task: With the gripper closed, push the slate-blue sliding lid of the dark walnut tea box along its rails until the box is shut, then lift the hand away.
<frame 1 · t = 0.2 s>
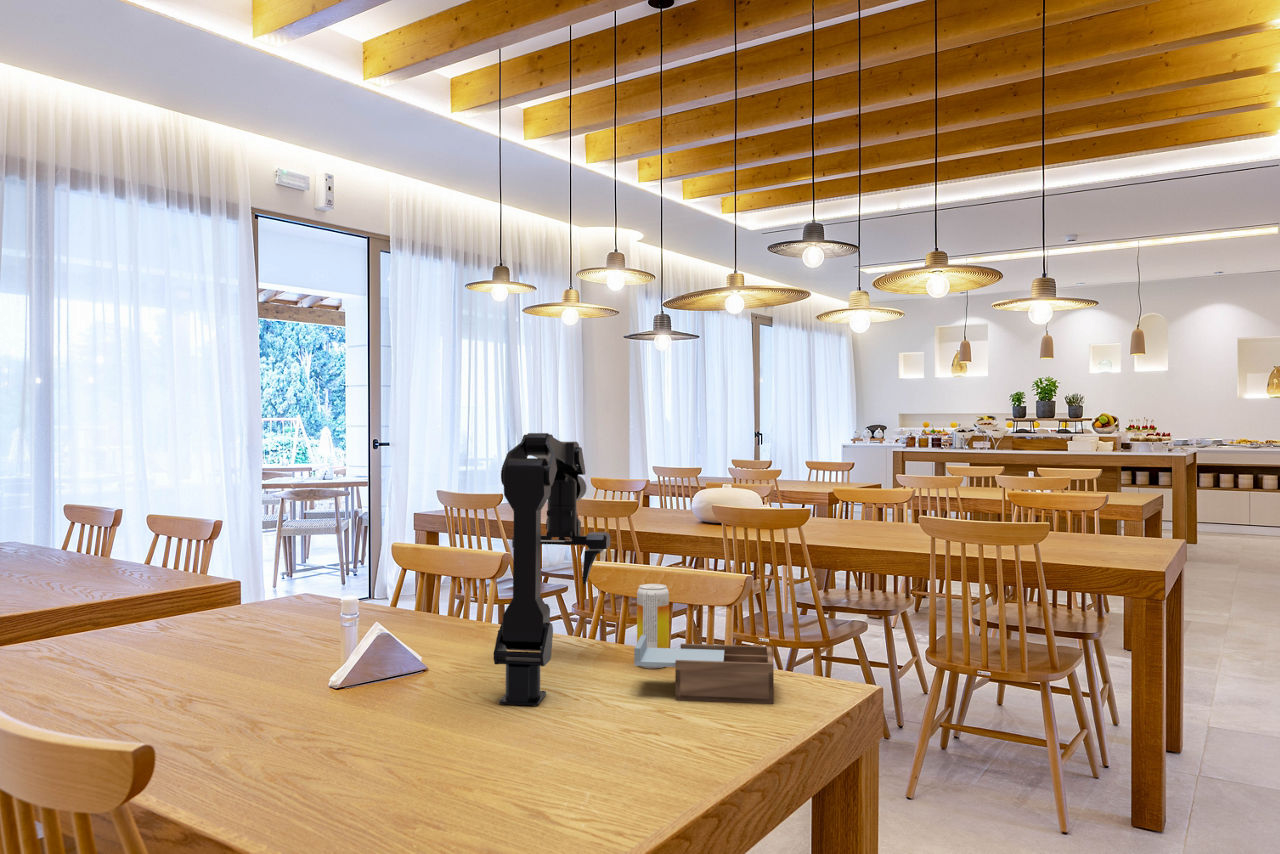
hand: (561, 583, 167), 14 cm above the table, fingers open, 9 cm apart
lid: (680, 651, 145), point 7 cm above the table, slide at 7.0 cm
walnut box: (725, 691, 144), on the table
beer can: (652, 666, 161), on the table
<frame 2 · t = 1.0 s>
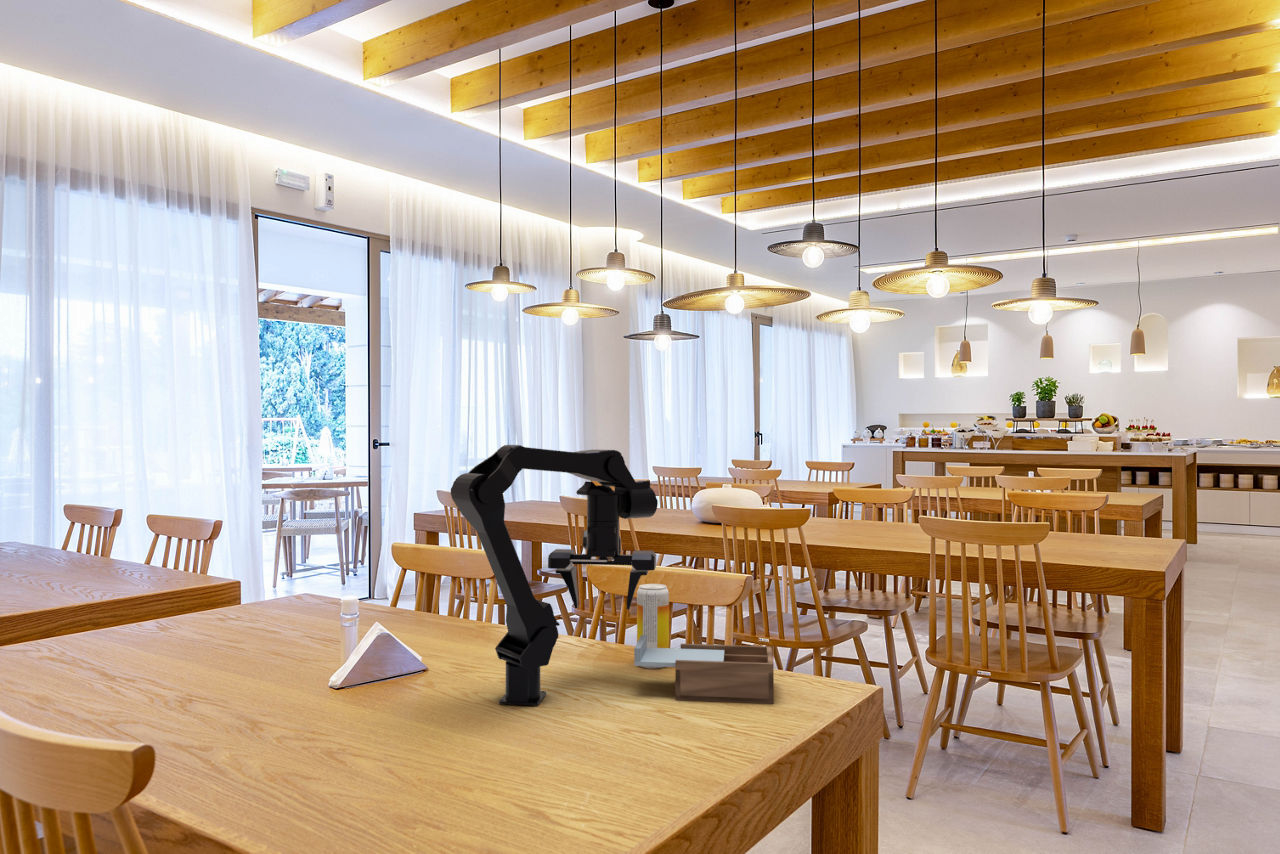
hand: (602, 608, 150), 13 cm above the table, fingers open, 9 cm apart
nothing on the table moved.
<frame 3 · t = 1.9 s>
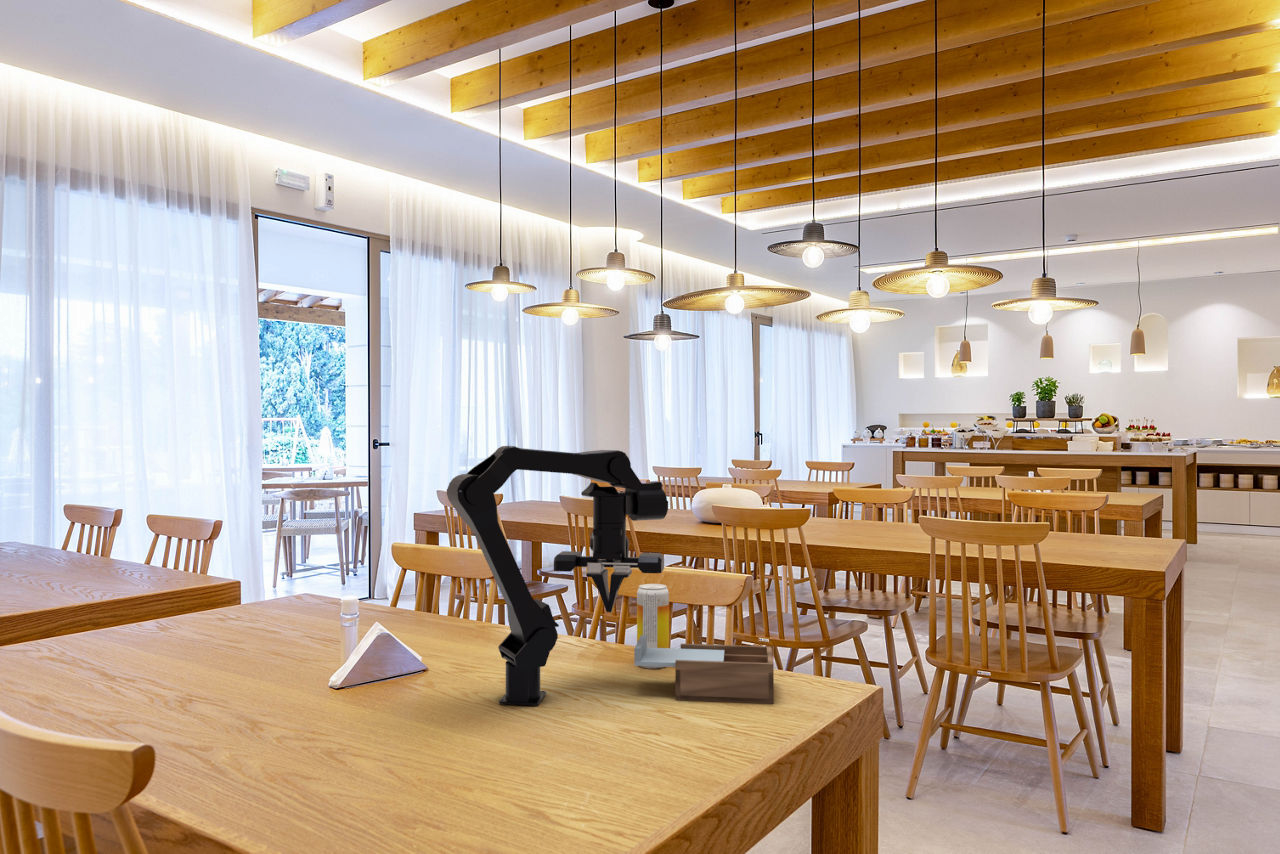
hand: (609, 611, 147), 13 cm above the table, fingers closed
nothing on the table moved.
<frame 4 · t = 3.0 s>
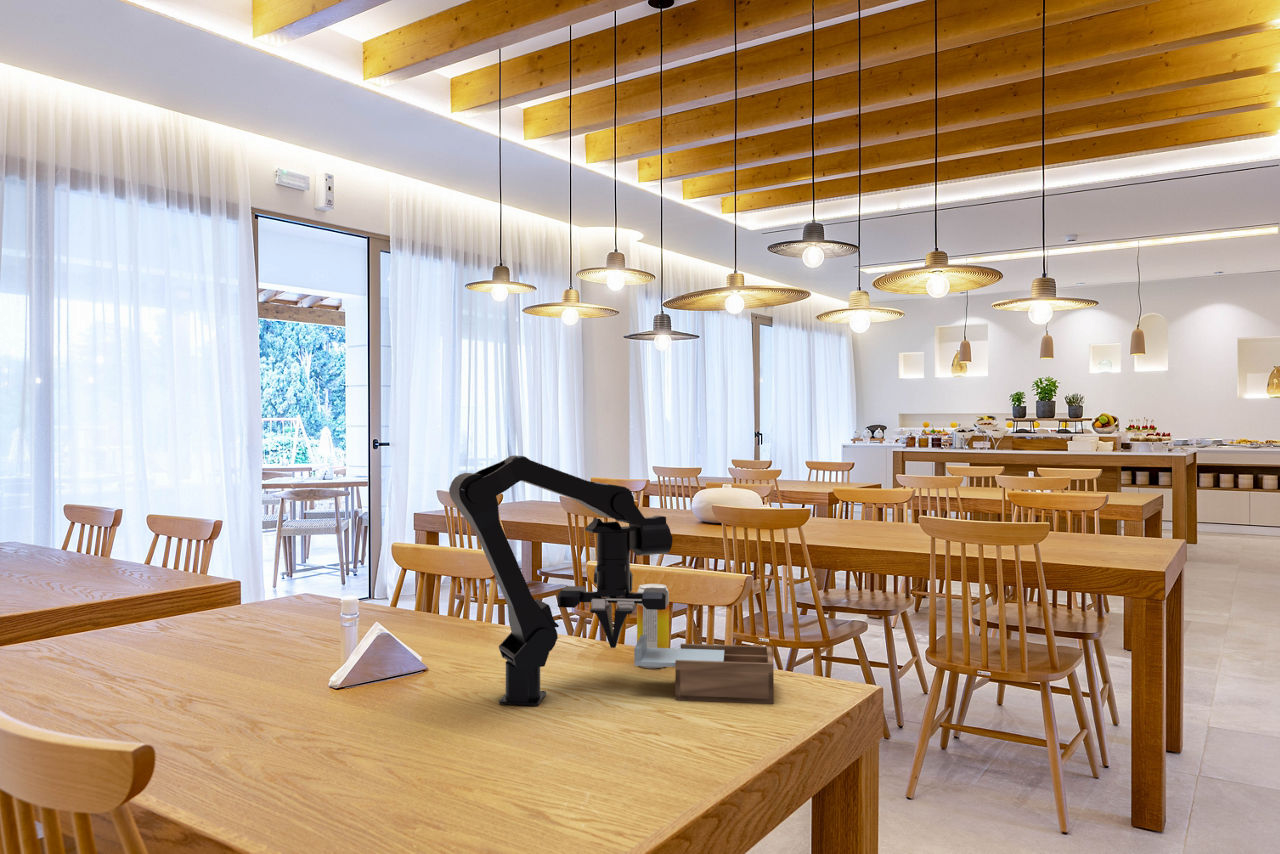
hand: (613, 647, 147), 7 cm above the table, fingers closed
nothing on the table moved.
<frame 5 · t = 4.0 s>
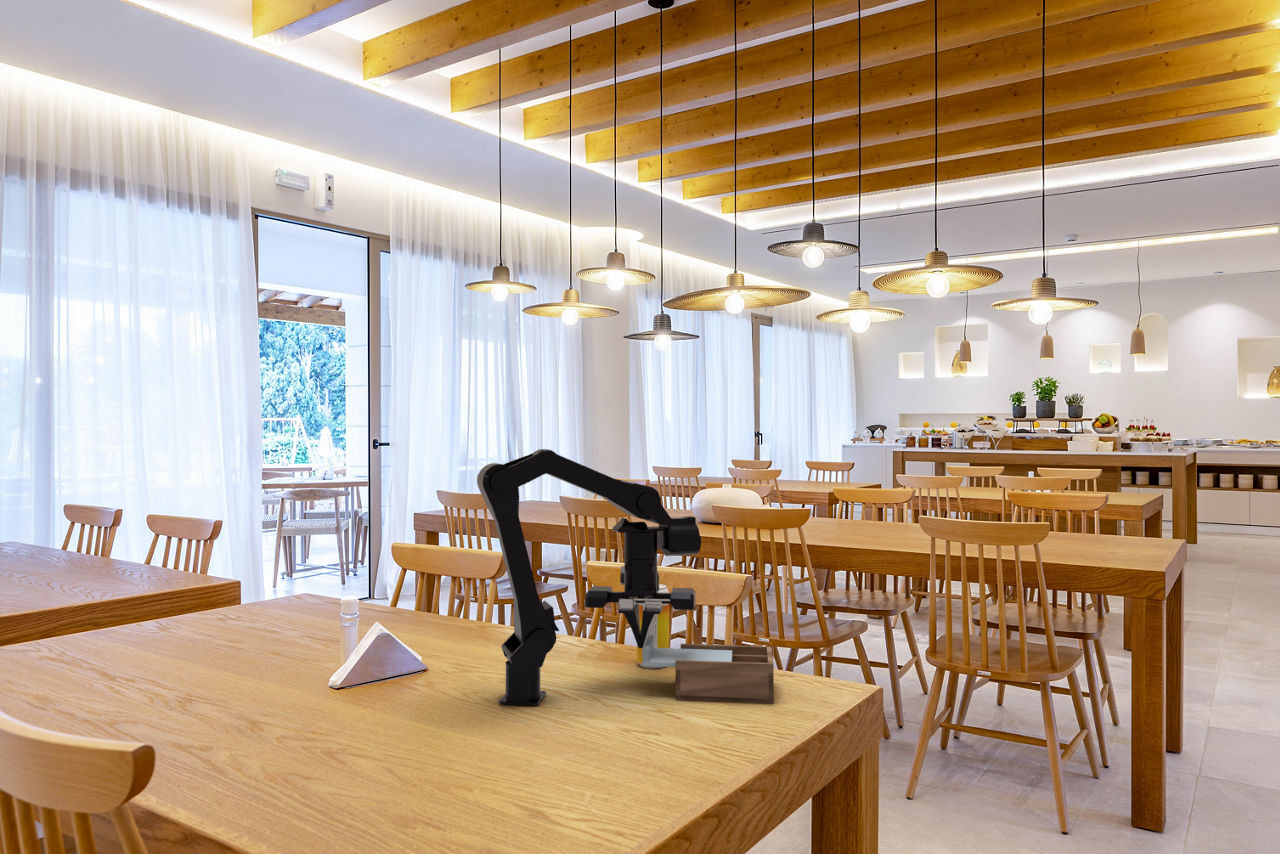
hand: (640, 647, 146), 7 cm above the table, fingers closed
lid: (688, 651, 145), point 7 cm above the table, slide at 5.6 cm, touching gripper
everything else where it was.
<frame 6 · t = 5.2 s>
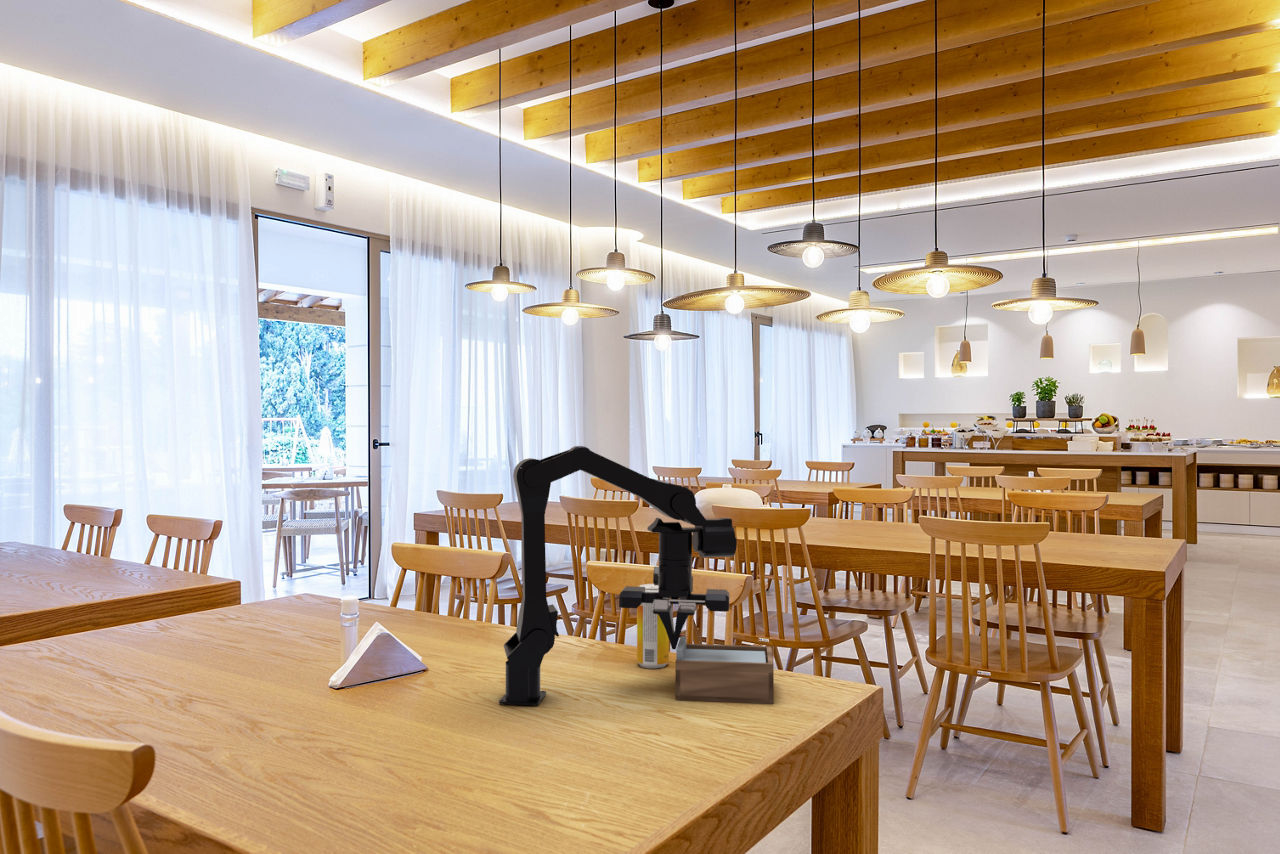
hand: (674, 648, 146), 7 cm above the table, fingers closed
lid: (721, 652, 145), point 7 cm above the table, slide at -0.1 cm, touching gripper
everything else where it was.
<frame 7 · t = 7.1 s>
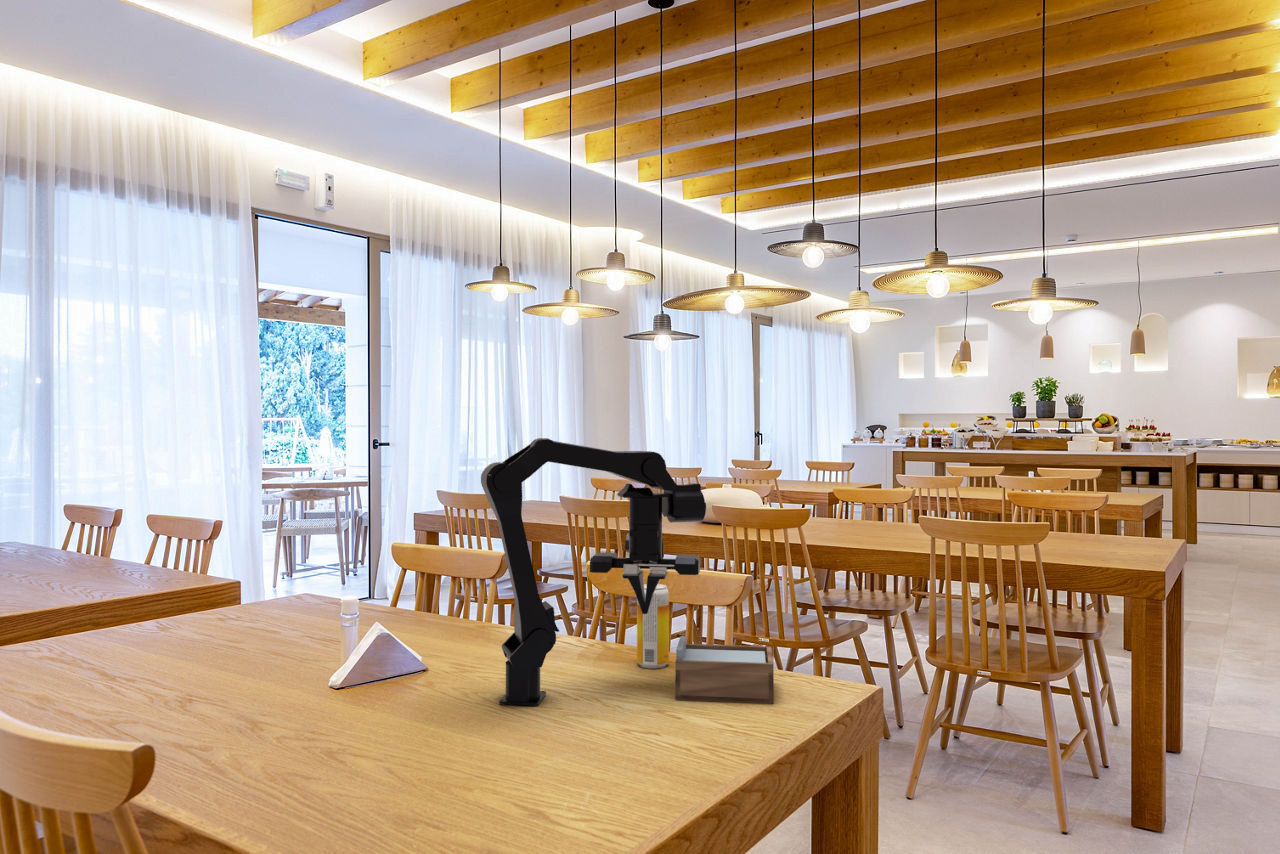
hand: (645, 613, 146), 13 cm above the table, fingers closed
lid: (721, 652, 145), point 7 cm above the table, slide at 0.0 cm
everything else where it was.
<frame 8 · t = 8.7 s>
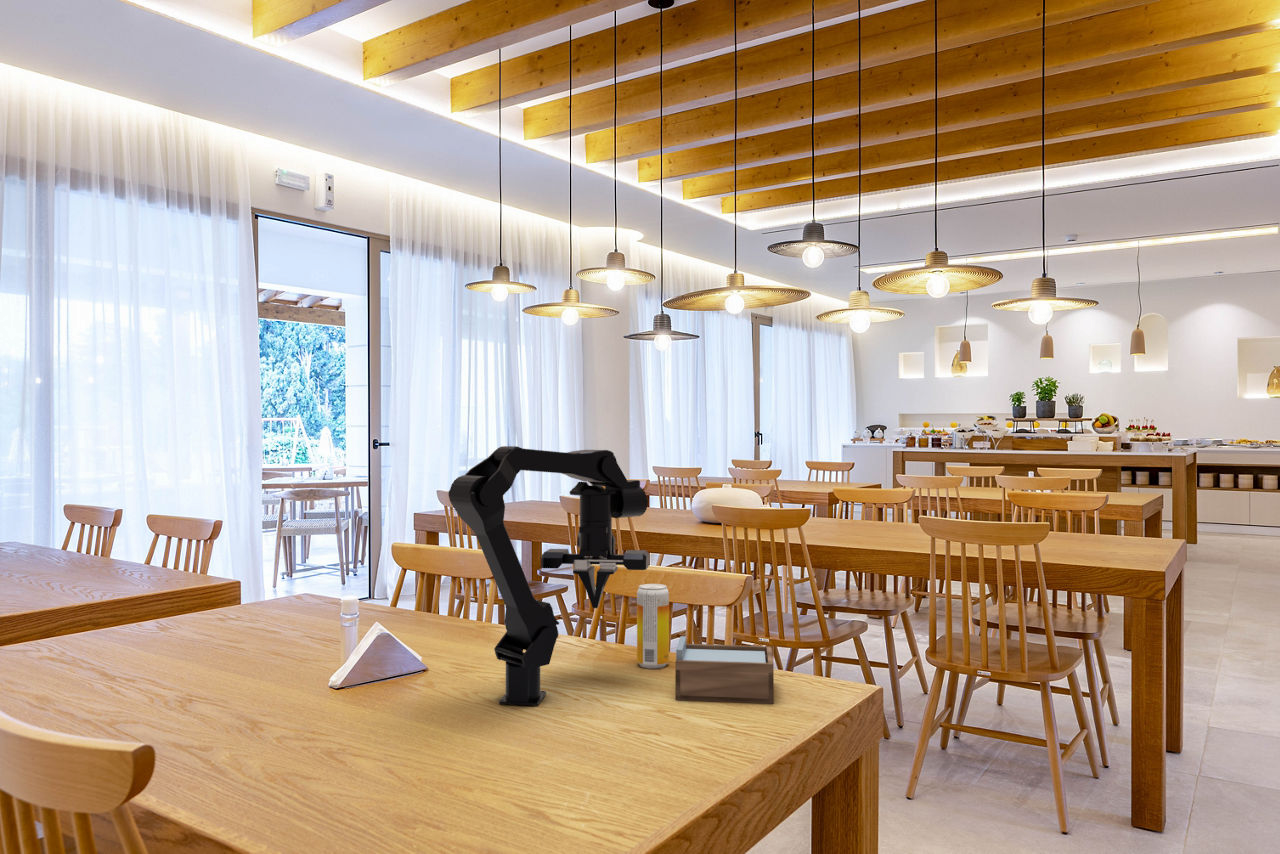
hand: (595, 607, 150), 13 cm above the table, fingers closed
nothing on the table moved.
at the end: lid slide at 0.0 cm; lid touching nothing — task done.
